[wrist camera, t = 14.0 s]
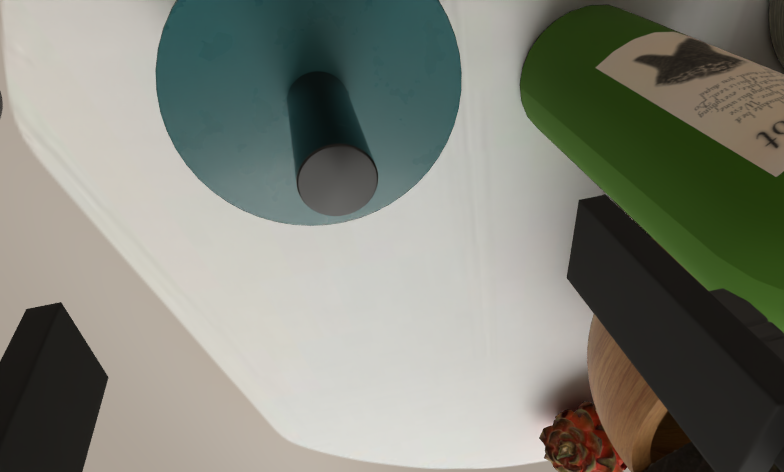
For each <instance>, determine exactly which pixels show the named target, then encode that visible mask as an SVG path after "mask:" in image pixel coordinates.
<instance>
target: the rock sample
mask: <svg viewBox="0 0 784 472" xmlns="http://www.w3.org/2000/svg"><path fill="white" fill-rule="evenodd" d="M644 472H714V470H713V469H712V468H711V466H710V465H709V464H708V462H707V461H706V460H705V458H704V457H703V456H702V455H701V453H700V452H699V451H698V449H697V448H696V447H695V445H694V444H693V443H692V441H691V442H689V443H687V444H685V445H683V446H682V447H679V449H678V450H674V452H672V453H671V454H668V455H666V456H664V457H663V458H661V459H660V460H657V461H656V463H651V464H650V465H649V468H648V469H647V471H646V470H645V469H644ZM769 472H781V471H780V470H779V469H778V467H777V466H776V465H775V464H773V466H772V467H771V469H770V470H769Z"/></svg>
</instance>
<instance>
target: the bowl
mask: <svg viewBox="0 0 784 472" xmlns="http://www.w3.org/2000/svg"><path fill="white" fill-rule="evenodd" d="M652 239H653V240H654V241H655V242H656V243H657V244H659V243H658V242H657V241H656V240H655V239H654V238H652ZM659 245H660V244H659ZM660 246H661V245H660ZM661 247H662V246H661ZM662 248H663V247H662ZM663 249H664V248H663ZM664 250H665V249H664ZM665 251H666V250H665ZM666 252H667V251H666ZM667 253H668V252H667ZM668 254H669V253H668ZM669 255H670V254H669ZM670 256H671V255H670ZM671 257H672V256H671ZM672 258H673V257H672ZM673 259H675V258H673ZM675 260H676V259H675ZM676 261H677V260H676ZM677 262H678V261H677ZM678 263H679V262H678ZM679 264H680V263H679ZM680 265H681V264H680ZM681 266H682V265H681ZM682 267H683V266H682ZM683 268H684V267H683ZM684 269H685V268H684ZM685 270H686V269H685ZM686 271H687V270H686ZM687 272H688V271H687ZM688 273H689V272H688ZM694 278H695V277H694ZM695 279H696V278H695ZM696 280H697V279H696ZM697 281H698V280H697ZM698 282H699V281H698ZM699 283H700V282H699ZM700 284H701V283H700ZM701 285H702V284H701ZM702 286H703V285H702ZM703 287H704V286H703ZM704 288H705V287H704ZM587 365H588V377H589V383H590V389H591V393H592V397H593V401H594V404H595V407H596V410H597V414H598V416H599V419H600V421H601V424H602V426H603V428H604V430H605V432H606V434H607V436H608V438H609V440H610V442H611V443H612V445H613V447H614V448H615V450H616V451H617V453H618V455H619V456H620V458H621V459H622V461H623V462H624V463H625V465H626V466H627V467H628V469H629V470H630V471H631V472H644V469H645V470H646V471H647V469H648V468H649V465H650V464H651V463H656V461H657V460H660V459H661V458H663V457H664V456H666V455H668V454H671V453H672V452H674V450H678V449H679V447H682V446H683V445H685V444H687V443H689V442H691V440H690V439H689V437H688V436H687V435H686V434H685V432H684V431H683V430H682V428H681V427H680V426H679V424H678V423H677V422H676V420H675V419H674V418H673V416H672V415H671V414H670V413H669V411H668V410H667V409H666V407H665V406H664V405H663V403H662V402H661V401H660V399H659V398H658V397H657V396H656V394H655V393H654V392H653V390H652V389H651V388H650V386H649V385H648V384H647V382H646V381H645V380H644V378H643V377H642V376H641V375H640V373H639V372H638V371H637V369H636V368H635V367H634V365H633V364H632V363H631V361H630V360H629V359H628V357H627V356H626V355H625V354H624V352H623V351H622V350H621V348H620V347H619V346H618V344H617V343H616V342H615V340H614V339H613V338H612V336H611V335H610V334H609V333H608V331H607V330H606V329H605V327H604V326H603V325H602V323H601V322H600V321H599V319H598V318H597V317H596V315H595V314H594V316H593V319H592V323H591V327H590V333H589V339H588V349H587Z"/></svg>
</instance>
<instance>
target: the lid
mask: <svg viewBox="0 0 784 472" xmlns="http://www.w3.org/2000/svg"><path fill="white" fill-rule="evenodd" d="M156 90H157V97H158V102H159V107H160V112H161V115H162V118H163V121H164V124H165V127H166V130H167V132H168V134H169V136H170V138H171V140H172V142H173V144H174V146H175V148H176V150H177V151H178V153H179V154H180V156H181V157H182V159H183V160H184V162H185V163H186V165H187V166H188V167H189V168H190V169H191V170H192V172H193V173H194V174H195V175H196V176H197V177H198V179H199V180H201V181H202V182H203V183H204V184H205V185H206V186H207V187H208V188H209V189H211V190H212V191H213V192H214V193H216V194H217V195H218V196H220V197H221V198H223V199H224V200H226V201H227V202H229V203H230V204H232V205H234V206H236V207H238V208H240V209H241V210H243V211H246V212H248V213H251V214H253V215H256V216H258V217H261V218H264V219H268V220H272V221H275V222H280V223H286V224H292V225H307V226H314V225H329V224H335V223H342V222H346V221H350V220H354V219H357V218H361V217H363V216H366V215H368V214H371V213H373V212H376V211H378V210H380V209H381V208H383V207H385V206H387V205H389V204H391V203H392V202H394V201H395V200H397V199H398V198H400V197H401V196H403V195H404V194H405V193H406V192H408V191H409V190H410V189H411V188H412V187H413V186H415V185H416V184H417V183H418V182H419V181H420V180H421V179H422V177H423V176H424V175H425V174H426V173H427V172H428V171H429V170H430V168H431V167H432V166H433V164H434V163H435V161H436V160H437V159H438V157H439V156H440V154H441V152H442V150H443V148H444V147H445V145H446V143H447V141H448V139H449V136H450V134H451V131H452V129H453V127H454V123H455V120H456V116H457V112H458V109H459V102H460V95H461V63H460V54H459V50H458V46H457V42H456V37H455V34H454V31H453V29H452V26H451V24H450V21H449V19H448V16H447V14H446V13H445V11H444V9H443V7H442V5H441V4H440V2H439V0H177V1H176V2H175V4H174V5H173V7H172V9H171V11H170V14H169V16H168V18H167V21H166V23H165V25H164V28H163V31H162V35H161V39H160V43H159V47H158V52H157V62H156Z"/></svg>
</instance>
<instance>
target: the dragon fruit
mask: <svg viewBox="0 0 784 472" xmlns="http://www.w3.org/2000/svg"><path fill="white" fill-rule="evenodd" d="M555 418H556V419H555V420H554V423H553V426H549V427H546V428H544V429H543V431H542V433H541V436H540V437H539V439H540V440H541V441H542V442H543V443H544V445H545V453H546V454H545V457H544V458H545V459H547V460H549V461H551V463H552V464H553V467H554V468H555V469H556V470H557V471H558V472H623V470H625V469H626V468H627V466H626V465H625V463H624V462H623V461H622V459H621V458H620V456H619V455H618V453H617V451H616V450H615V448H614V447H613V445H612V443H611V442H610V440H609V438H608V436H607V434H606V432H605V430H604V428H603V426H602V424H601V421H600V419H599V416H598V414H597V412H596V410H595V407H594V405H593V403H591V402H583V403H582V404H581V405H579V406H578V410H577V411H576V412H573V411H572V410H565V411H563V412H561V413H560V414H558V415H557V416H556V417H555Z"/></svg>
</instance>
